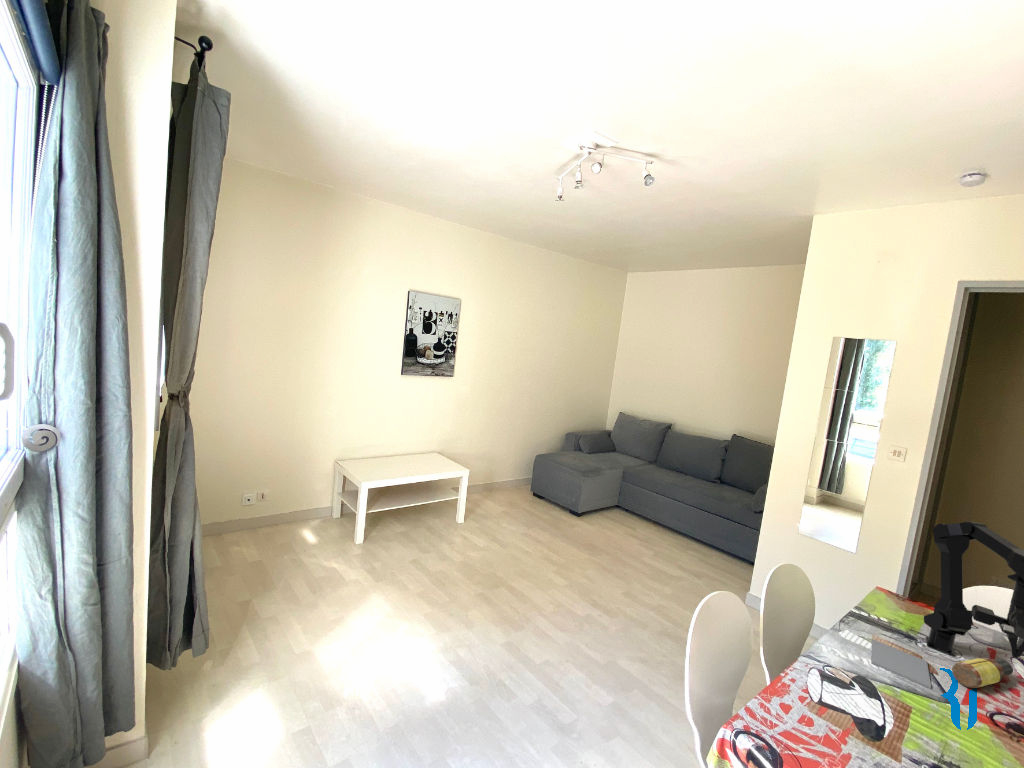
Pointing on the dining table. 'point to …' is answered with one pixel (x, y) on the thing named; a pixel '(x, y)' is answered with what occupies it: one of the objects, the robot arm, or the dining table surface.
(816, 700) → the dining table surface
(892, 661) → the rubber mat
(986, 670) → the sauce bottle
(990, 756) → the dining table surface
